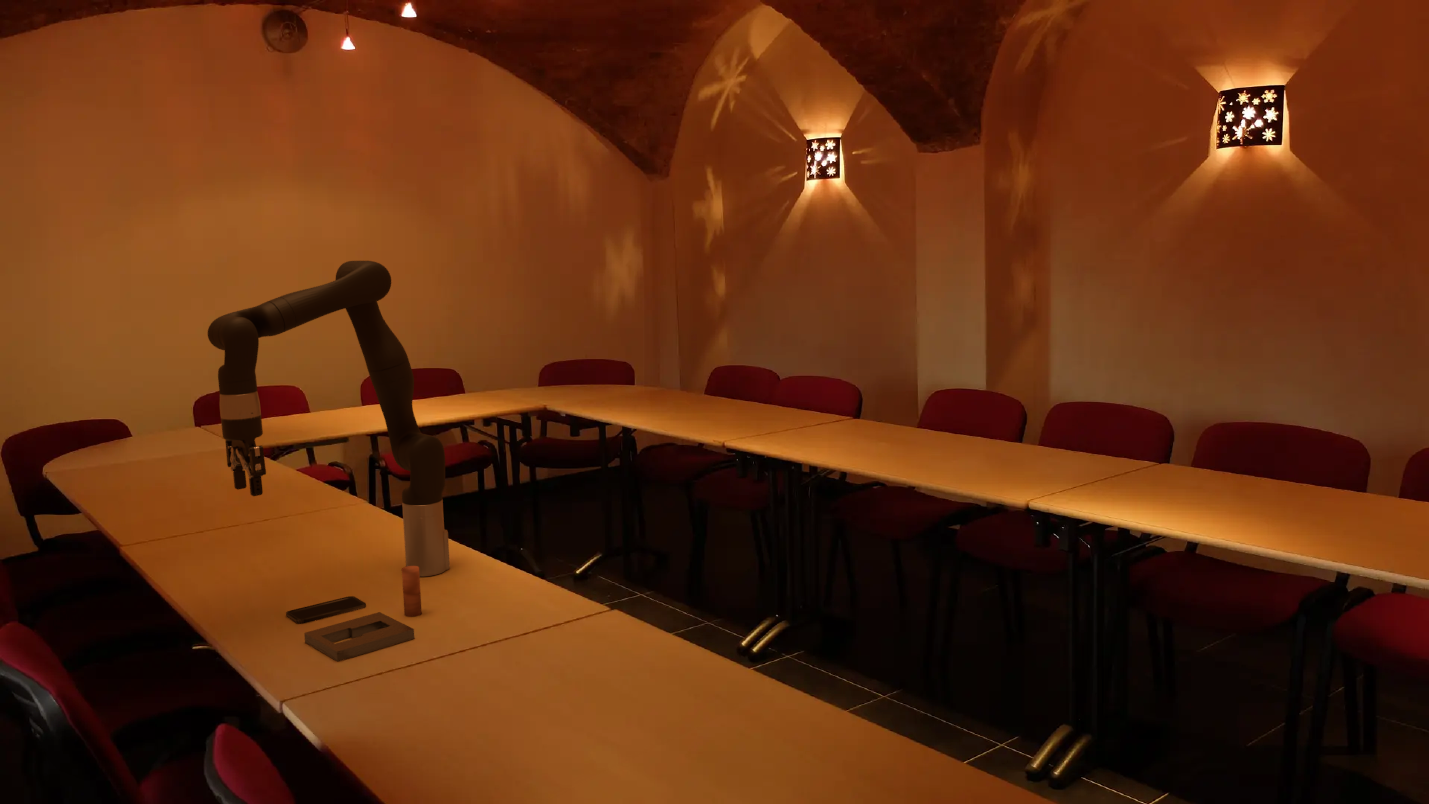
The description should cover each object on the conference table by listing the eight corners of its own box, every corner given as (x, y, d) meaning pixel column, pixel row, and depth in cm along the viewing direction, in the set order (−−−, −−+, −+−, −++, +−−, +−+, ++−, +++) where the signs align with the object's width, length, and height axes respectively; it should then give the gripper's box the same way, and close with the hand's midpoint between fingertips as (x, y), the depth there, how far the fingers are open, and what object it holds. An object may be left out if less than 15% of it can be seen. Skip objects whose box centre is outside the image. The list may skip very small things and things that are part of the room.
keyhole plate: (380, 621, 222) (379, 612, 222) (414, 638, 212) (413, 628, 212) (305, 642, 211) (304, 632, 210) (337, 661, 201) (336, 651, 201)
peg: (416, 609, 228) (413, 564, 227) (424, 613, 226) (422, 568, 224) (401, 613, 226) (398, 568, 224) (409, 618, 224) (407, 572, 222)
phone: (284, 611, 226) (352, 595, 236) (284, 617, 226) (352, 600, 236) (298, 621, 220) (367, 604, 230) (298, 626, 220) (368, 609, 230)
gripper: (273, 415, 215) (280, 494, 217) (246, 408, 225) (253, 483, 227) (235, 421, 209) (243, 501, 212) (209, 413, 220) (217, 489, 222)
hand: (248, 491), depth 220 cm, fingers open, 8 cm apart
